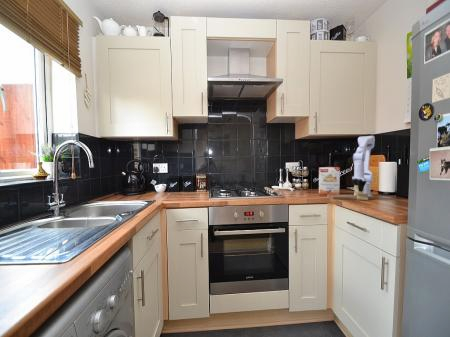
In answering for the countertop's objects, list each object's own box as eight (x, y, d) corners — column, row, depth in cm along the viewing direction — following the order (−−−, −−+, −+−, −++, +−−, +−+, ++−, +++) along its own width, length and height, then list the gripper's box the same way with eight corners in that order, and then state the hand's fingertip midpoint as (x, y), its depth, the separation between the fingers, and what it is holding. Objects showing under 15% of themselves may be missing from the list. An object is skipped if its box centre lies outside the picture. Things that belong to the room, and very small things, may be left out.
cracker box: (320, 194, 168) (320, 167, 168) (318, 193, 174) (318, 167, 173) (339, 194, 165) (340, 167, 164) (337, 193, 171) (338, 167, 170)
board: (327, 196, 157) (327, 194, 157) (362, 196, 155) (362, 194, 155) (333, 199, 145) (333, 197, 145) (371, 199, 143) (372, 197, 143)
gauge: (351, 197, 151) (351, 185, 150) (360, 197, 150) (360, 185, 150) (358, 199, 141) (358, 186, 141) (367, 199, 141) (368, 186, 141)
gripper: (347, 170, 153) (347, 189, 154) (358, 171, 139) (358, 192, 139) (358, 170, 153) (358, 189, 153) (370, 171, 138) (369, 192, 139)
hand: (359, 190), depth 146 cm, fingers closed on gauge, 4 cm apart
